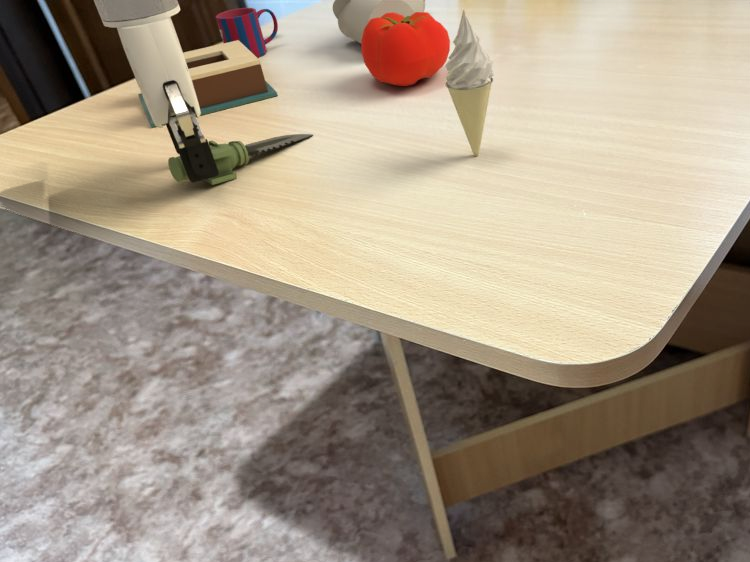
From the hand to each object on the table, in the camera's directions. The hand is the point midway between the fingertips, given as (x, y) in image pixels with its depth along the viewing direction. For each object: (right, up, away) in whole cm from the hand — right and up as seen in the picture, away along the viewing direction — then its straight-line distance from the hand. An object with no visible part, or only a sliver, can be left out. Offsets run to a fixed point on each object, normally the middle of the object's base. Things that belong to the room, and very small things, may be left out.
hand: (197, 163), depth 79 cm
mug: (-6, +30, +41) cm, 51 cm away
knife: (+5, +1, +3) cm, 6 cm away
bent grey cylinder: (+18, +32, +39) cm, 54 cm away
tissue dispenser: (-8, +17, +24) cm, 31 cm away
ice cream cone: (+32, 0, -2) cm, 32 cm away
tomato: (+23, +18, +21) cm, 36 cm away
